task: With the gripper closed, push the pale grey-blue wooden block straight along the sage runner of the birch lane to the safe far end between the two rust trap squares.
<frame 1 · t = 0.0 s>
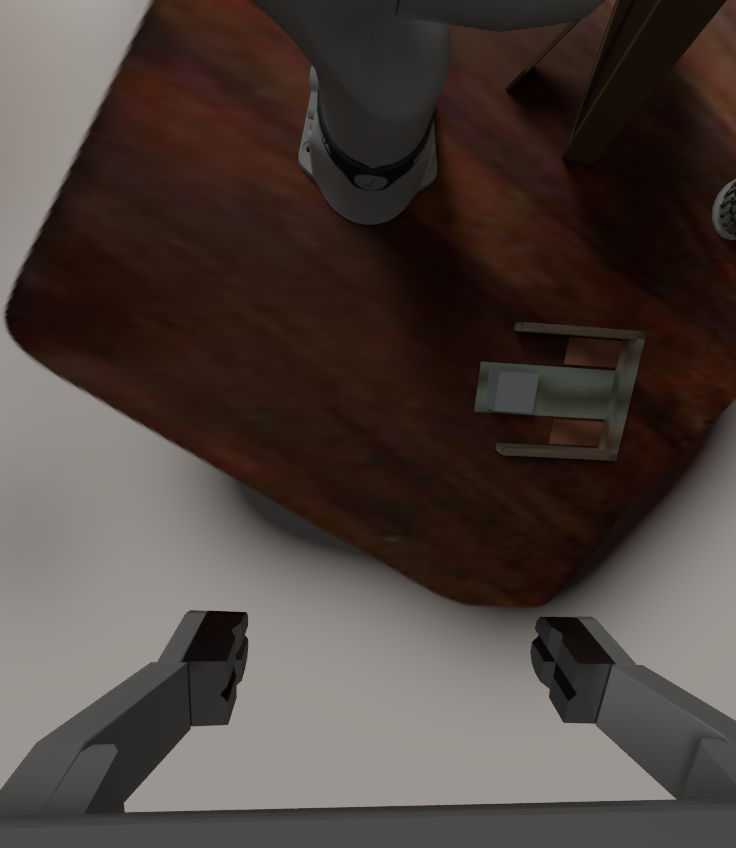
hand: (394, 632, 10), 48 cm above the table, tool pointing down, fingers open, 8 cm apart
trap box: (564, 392, 59), on the table
photo frame: (569, 62, 48), on the table
block: (505, 388, 58), resting on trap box
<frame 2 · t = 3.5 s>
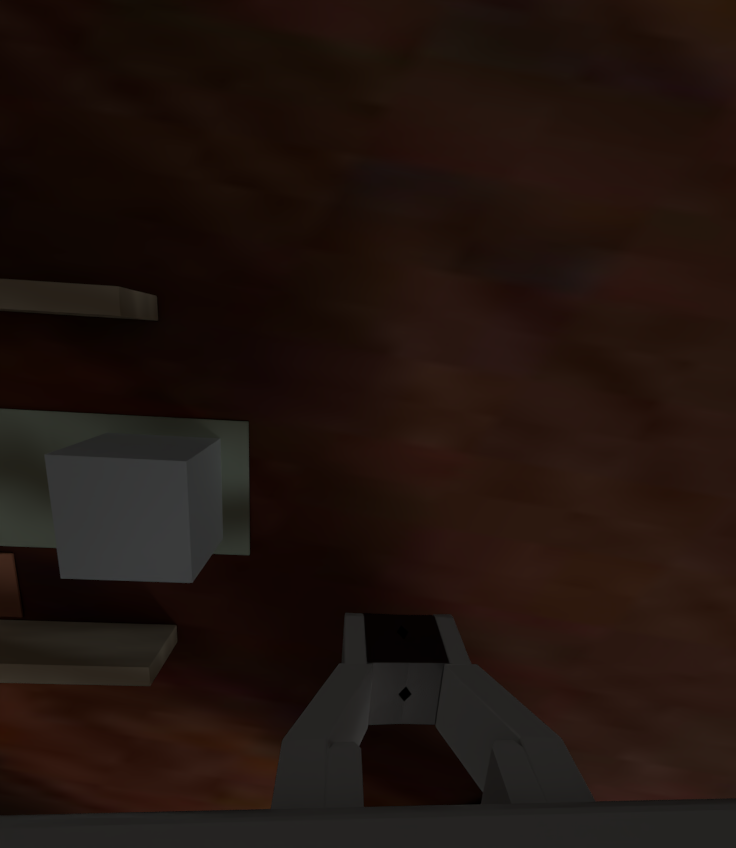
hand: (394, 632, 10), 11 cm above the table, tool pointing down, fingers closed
block: (167, 487, 20), resting on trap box
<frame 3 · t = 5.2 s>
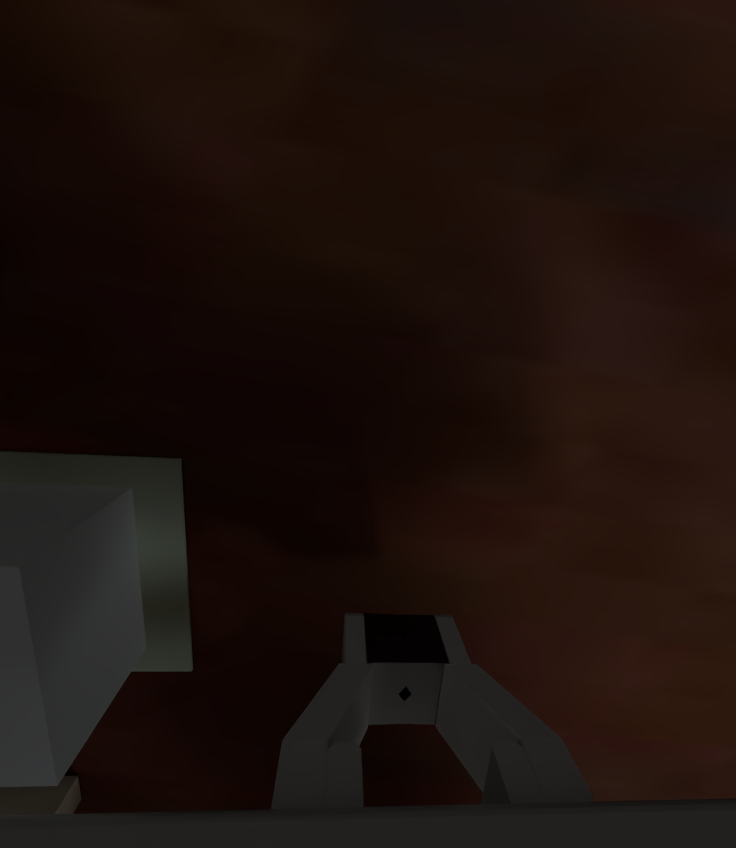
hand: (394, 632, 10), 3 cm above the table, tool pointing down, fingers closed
block: (43, 570, 12), resting on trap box
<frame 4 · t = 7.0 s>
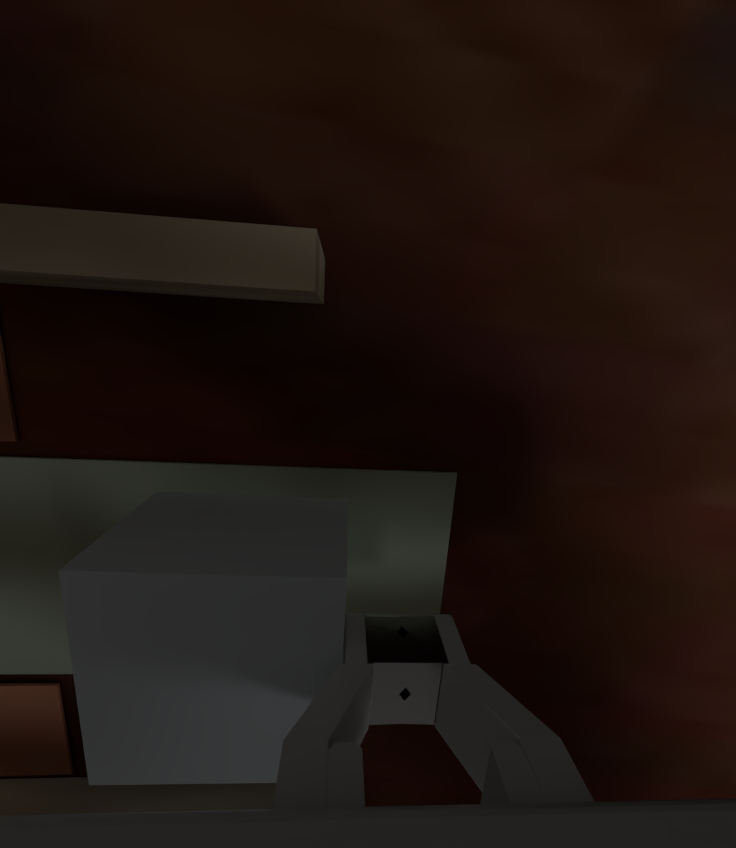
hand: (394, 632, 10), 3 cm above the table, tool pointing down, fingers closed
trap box: (8, 571, 12), on the table
block: (254, 576, 12), resting on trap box, touching gripper
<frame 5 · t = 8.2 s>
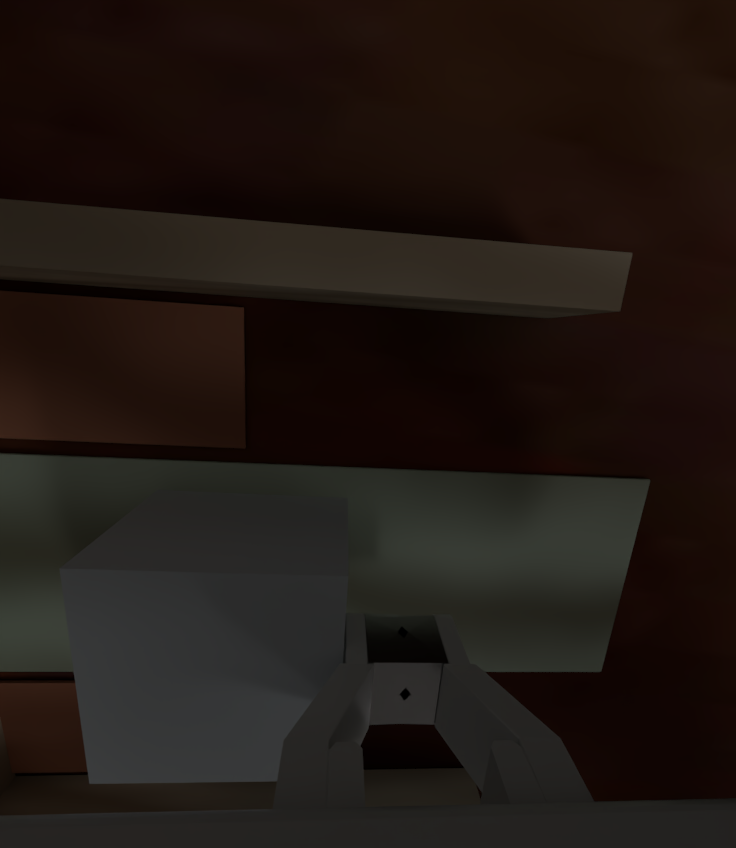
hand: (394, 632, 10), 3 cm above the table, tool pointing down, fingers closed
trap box: (217, 573, 12), on the table
block: (254, 575, 12), resting on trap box, touching gripper
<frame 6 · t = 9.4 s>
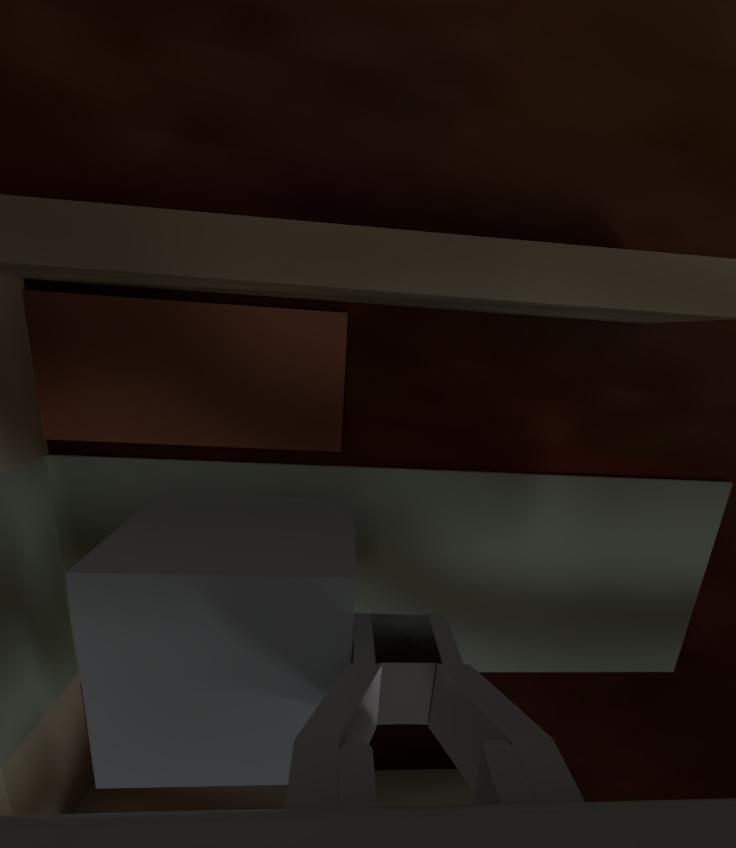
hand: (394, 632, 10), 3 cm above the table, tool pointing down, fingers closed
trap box: (305, 574, 12), on the table
block: (259, 577, 12), resting on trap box, touching gripper
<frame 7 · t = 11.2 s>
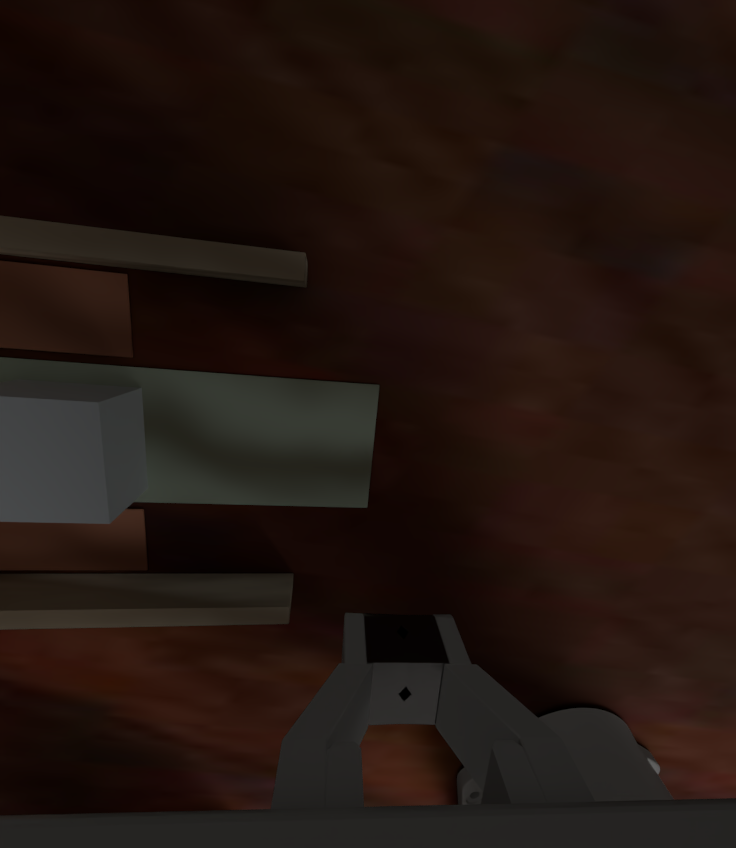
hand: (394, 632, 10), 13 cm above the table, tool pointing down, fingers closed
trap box: (119, 436, 20), on the table
block: (87, 436, 20), resting on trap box
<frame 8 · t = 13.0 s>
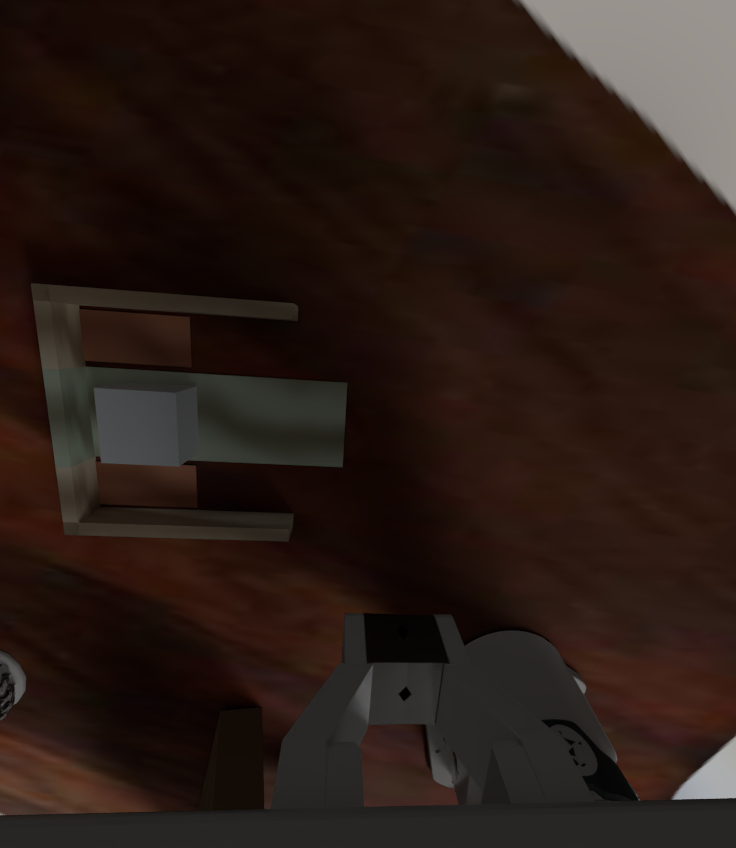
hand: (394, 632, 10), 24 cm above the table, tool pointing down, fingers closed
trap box: (182, 417, 32), on the table
photo frame: (270, 780, 43), on the table
block: (163, 417, 32), resting on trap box
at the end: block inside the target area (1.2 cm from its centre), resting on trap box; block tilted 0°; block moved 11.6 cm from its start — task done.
